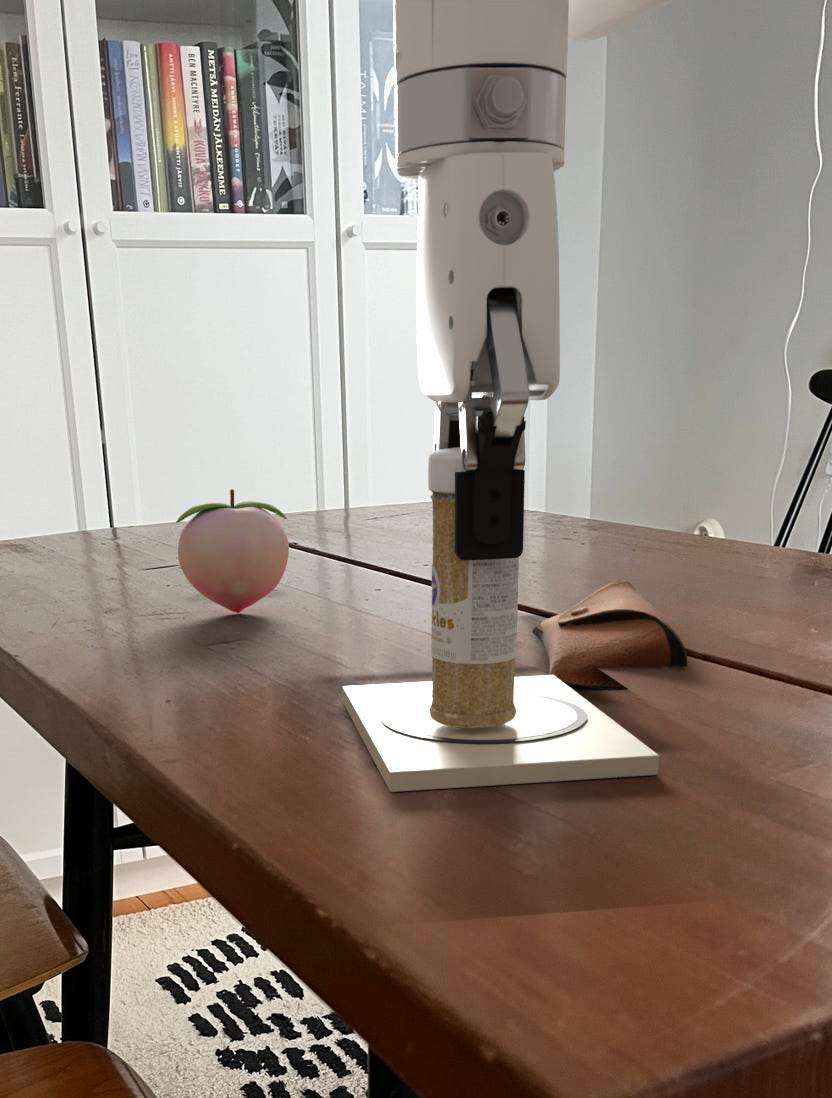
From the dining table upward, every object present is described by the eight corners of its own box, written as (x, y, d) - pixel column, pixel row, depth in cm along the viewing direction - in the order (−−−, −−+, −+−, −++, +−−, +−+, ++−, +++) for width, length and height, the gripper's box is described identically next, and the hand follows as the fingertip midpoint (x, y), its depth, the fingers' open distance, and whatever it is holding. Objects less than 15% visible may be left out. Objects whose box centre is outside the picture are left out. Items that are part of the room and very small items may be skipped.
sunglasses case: (524, 627, 93) (573, 547, 91) (604, 674, 94) (655, 596, 92) (548, 682, 77) (609, 586, 74) (645, 738, 78) (708, 645, 75)
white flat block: (553, 690, 77) (554, 672, 77) (658, 775, 60) (660, 752, 60) (342, 702, 76) (341, 684, 75) (390, 792, 59) (389, 769, 58)
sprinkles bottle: (416, 714, 67) (414, 448, 62) (495, 705, 68) (498, 444, 63) (450, 735, 63) (450, 452, 58) (533, 725, 64) (539, 448, 59)
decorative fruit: (213, 627, 100) (205, 496, 97) (168, 613, 107) (159, 490, 103) (314, 613, 105) (309, 488, 101) (265, 601, 111) (259, 483, 108)
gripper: (624, 92, 49) (603, 571, 55) (514, 163, 64) (508, 530, 71) (432, 92, 48) (434, 579, 54) (369, 165, 63) (375, 535, 70)
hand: (476, 547), depth 62 cm, fingers closed on sprinkles bottle, 4 cm apart
